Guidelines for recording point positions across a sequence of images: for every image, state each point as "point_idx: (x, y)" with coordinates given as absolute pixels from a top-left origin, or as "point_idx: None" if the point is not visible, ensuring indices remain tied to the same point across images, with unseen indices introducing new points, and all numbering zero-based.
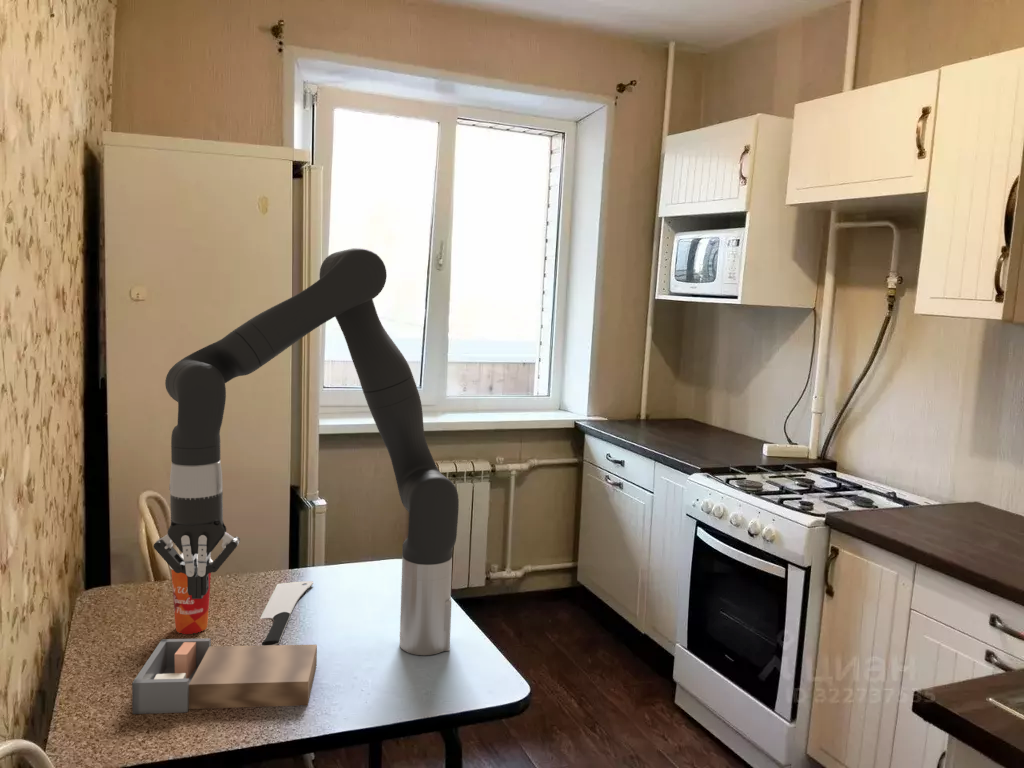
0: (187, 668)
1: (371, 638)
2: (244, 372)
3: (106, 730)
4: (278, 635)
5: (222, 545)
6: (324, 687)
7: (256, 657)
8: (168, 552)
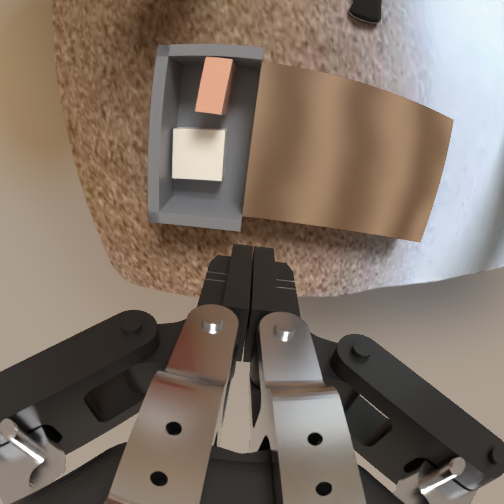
0: (225, 112)
1: (490, 67)
2: None
3: (147, 237)
4: (379, 3)
5: (400, 494)
6: None
7: (360, 134)
8: (75, 447)
